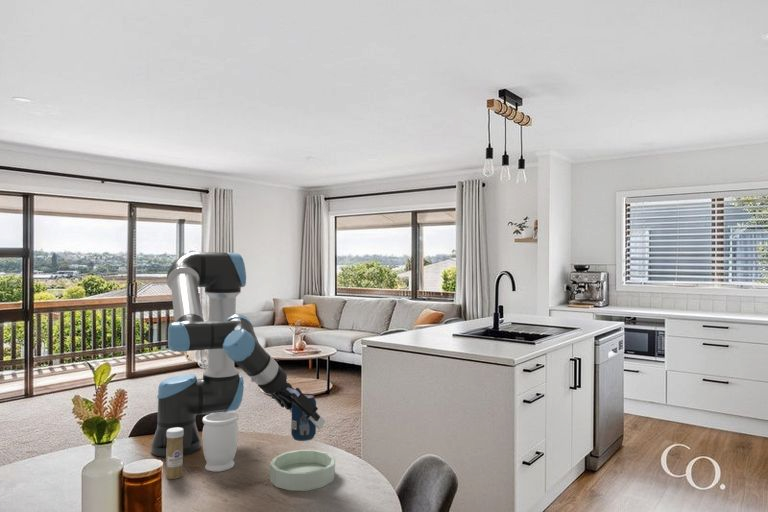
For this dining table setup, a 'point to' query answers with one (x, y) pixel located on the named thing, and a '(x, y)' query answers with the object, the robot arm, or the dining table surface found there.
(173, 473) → the sprinkles bottle
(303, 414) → the soda can
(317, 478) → the bowl
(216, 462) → the jar
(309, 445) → the dining table surface
